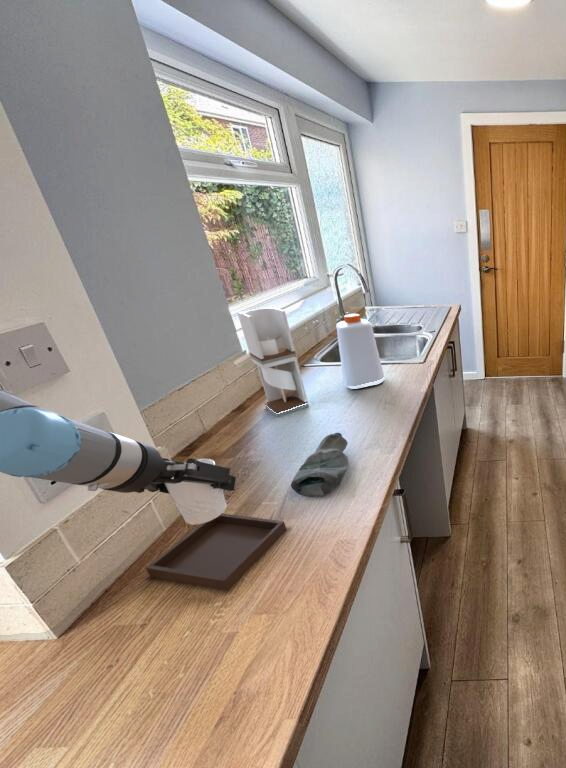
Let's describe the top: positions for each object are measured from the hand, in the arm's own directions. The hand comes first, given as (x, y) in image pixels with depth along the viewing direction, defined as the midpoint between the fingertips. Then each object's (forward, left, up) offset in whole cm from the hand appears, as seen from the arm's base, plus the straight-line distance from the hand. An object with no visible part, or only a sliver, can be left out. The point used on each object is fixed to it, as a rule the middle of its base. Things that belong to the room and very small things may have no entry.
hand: (209, 486), depth 80 cm
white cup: (+1, -3, -4) cm, 5 cm away
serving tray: (+1, -3, -14) cm, 14 cm away
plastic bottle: (-18, +85, -14) cm, 88 cm away
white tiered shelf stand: (-34, +60, -14) cm, 70 cm away
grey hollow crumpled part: (+6, +26, -14) cm, 30 cm away
